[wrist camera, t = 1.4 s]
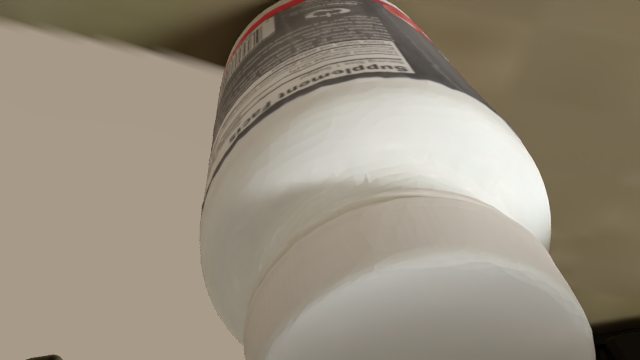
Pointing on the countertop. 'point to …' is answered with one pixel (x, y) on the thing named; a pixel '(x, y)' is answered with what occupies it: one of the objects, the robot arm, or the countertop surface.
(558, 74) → the countertop surface
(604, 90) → the countertop surface
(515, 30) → the countertop surface
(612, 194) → the countertop surface
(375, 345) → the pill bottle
